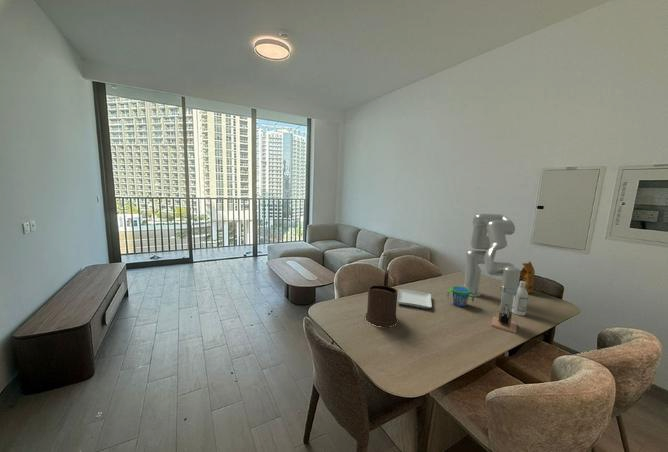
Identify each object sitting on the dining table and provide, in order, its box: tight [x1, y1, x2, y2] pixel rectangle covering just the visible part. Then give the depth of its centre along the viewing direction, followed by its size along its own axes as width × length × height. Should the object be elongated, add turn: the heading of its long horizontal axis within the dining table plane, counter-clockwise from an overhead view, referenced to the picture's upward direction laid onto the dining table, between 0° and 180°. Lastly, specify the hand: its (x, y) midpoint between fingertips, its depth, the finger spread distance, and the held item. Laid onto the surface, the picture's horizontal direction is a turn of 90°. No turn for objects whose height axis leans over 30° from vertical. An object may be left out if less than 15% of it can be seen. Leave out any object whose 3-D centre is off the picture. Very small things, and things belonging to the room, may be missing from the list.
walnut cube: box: [498, 309, 513, 325], centre depth 141 cm, size 6×6×6 cm
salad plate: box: [397, 288, 433, 309], centre depth 169 cm, size 21×21×3 cm
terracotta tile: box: [491, 316, 517, 334], centre depth 142 cm, size 11×11×1 cm
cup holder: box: [364, 269, 398, 328], centre depth 146 cm, size 18×24×25 cm
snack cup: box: [446, 285, 475, 308], centre depth 166 cm, size 16×10×10 cm
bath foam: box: [511, 281, 529, 316], centre depth 156 cm, size 7×7×20 cm
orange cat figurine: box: [518, 261, 536, 294], centre depth 190 cm, size 10×12×22 cm
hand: (504, 320), depth 142 cm, fingers closed on walnut cube, 5 cm apart
